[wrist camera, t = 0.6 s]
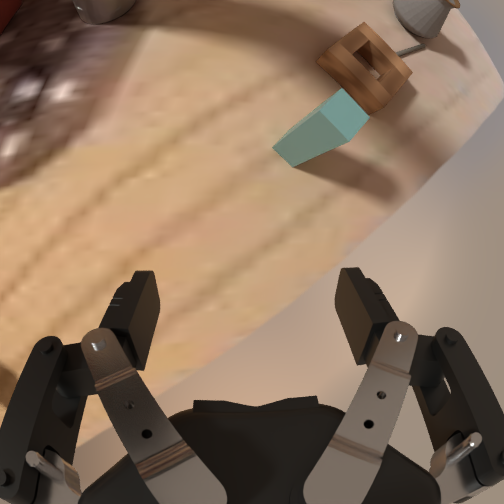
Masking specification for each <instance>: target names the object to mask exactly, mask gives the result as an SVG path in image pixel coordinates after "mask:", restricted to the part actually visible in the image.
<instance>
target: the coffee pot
mask: <svg viewBox="0 0 504 504" xmlns="http://www.w3.org/2000/svg"><path fill="white" fill-rule="evenodd" d="M393 7H394V11H395V15H396V17H397V19H398V20H399V22H400V23H401V24H402V25H403V26H404V27H405V28H406V29H407V30H408V31H410V32H411V33H413V34H415V35H418V36H421V37H424V38H435V37H437V35H438V34H439V32H440V30H441V28H442V26H443V24H444V22H445V20H446V18H447V15H448V13H449V11H450V9H452V8H460V3H459V1H458V0H393Z"/></svg>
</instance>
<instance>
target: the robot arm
mask: <svg viewBox="0 0 504 504" xmlns="http://www.w3.org/2000/svg"><path fill="white" fill-rule="evenodd" d="M72 1H73V3H74V5H75V8H76V10H77V12H78V14H79V16H80V18H81V20H83V21H84V22H86V23H89V24H100V23H105V22H108V21H111V20H114V19H116V18H118V17H120V16H121V15H123V14H124V13H126V12H127V11H128V10H129V9H130V8H131V7H132V6H133V4H134V3H135V1H136V0H72ZM335 308H336V312H337V314H338V317H339V319H340V322H341V324H342V327H343V329H344V332H345V335H346V337H347V340H348V343H349V345H350V348H351V351H352V354H353V356H354V359H355V362H356V364H357V365H363V364H366V365H367V367H368V369H367V371H366V373H365V376H364V378H363V380H362V382H361V384H360V386H359V388H358V390H357V393H356V394H355V396H354V398H353V400H352V402H351V404H350V406H349V408H348V410H347V412H346V413H345V412H343V411H342V410H339V409H337V408H335V407H331V406H328V405H324V404H319V403H318V399H317V396H308V397H297V398H287V399H283V400H280V401H276V402H273V403H269V404H266V405H262V406H258V407H254V406H247V405H243V404H238V403H233V402H228V401H210V400H194V403H193V408H192V409H188V410H184V411H181V412H179V413H176V414H174V415H172V416H171V417H169V418H167V417H166V415H165V414H164V412H163V411H162V410H161V408H160V407H159V405H158V404H157V402H156V401H155V399H154V398H153V396H152V395H151V393H150V391H149V390H148V388H147V387H146V385H145V384H144V382H143V380H142V379H141V377H140V375H139V374H138V372H137V371H136V370H141V371H144V369H145V365H146V361H147V357H148V354H149V350H150V346H151V342H152V338H153V335H154V331H155V327H156V324H157V320H158V317H159V313H160V298H159V294H158V289H157V284H156V279H155V275H154V272H153V271H135V273H134V275H133V277H132V279H131V281H130V282H124V283H123V284H122V285H121V286H120V287H119V288H118V289H117V290H116V292H115V294H114V296H113V299H112V300H111V302H110V306H108V308H107V310H106V313H105V315H104V317H103V319H102V321H101V323H100V325H99V328H97V329H93V330H91V331H90V332H88V333H87V334H86V335H85V336H84V337H83V339H82V341H81V342H80V343H75V344H69V345H63V344H62V342H61V340H60V339H59V338H58V337H55V336H48V337H45V338H42V339H41V340H39V341H38V342H37V343H36V344H35V346H34V347H33V349H32V352H31V354H30V356H29V358H28V360H27V362H26V364H25V367H24V369H23V371H22V373H21V376H20V378H19V380H18V383H17V385H16V387H15V390H14V392H13V395H12V397H11V400H10V403H9V405H8V408H7V411H6V413H5V416H4V419H3V422H2V425H1V428H0V498H2V499H3V500H6V501H7V502H9V503H11V504H451V503H462V502H464V501H466V500H468V499H470V498H472V497H474V496H476V495H478V494H480V493H481V492H483V491H485V490H487V489H488V488H490V487H492V486H493V485H495V484H497V483H498V482H500V481H501V480H503V479H504V414H503V411H502V409H501V407H500V405H499V403H498V401H497V399H496V397H495V395H494V392H493V390H492V389H491V386H490V384H489V382H488V381H487V379H486V377H485V375H484V373H483V371H482V369H481V367H480V366H479V364H478V362H477V360H476V359H475V357H474V355H473V353H472V351H471V350H470V348H469V346H468V344H467V343H466V341H465V340H464V338H463V336H462V335H461V334H460V333H459V332H458V331H456V330H455V329H452V328H449V327H443V328H440V329H439V330H438V331H437V332H436V335H435V336H425V335H418V334H417V332H416V330H415V328H413V327H412V326H411V325H410V324H408V323H406V322H402V321H399V319H398V317H397V316H396V314H395V312H394V310H393V309H392V307H391V305H390V304H389V302H388V301H387V299H386V297H385V295H384V294H383V292H382V290H381V289H380V287H379V286H378V284H376V283H375V282H374V281H373V280H371V279H370V278H365V276H364V275H363V273H362V272H361V270H360V268H358V267H355V268H342V269H341V271H340V275H339V280H338V285H337V289H336V294H335ZM444 378H446V379H447V382H448V384H449V386H450V389H451V394H450V392H449V390H448V388H447V385H446V383H445V381H444ZM409 385H410V386H412V387H413V390H414V392H415V395H416V398H417V401H418V403H419V406H420V409H421V412H422V414H423V418H424V421H425V423H426V426H427V429H428V433H429V435H430V439H431V442H432V445H433V449H434V452H435V453H434V454H433V455H432V458H431V461H430V466H431V467H430V469H429V472H428V471H427V470H425V469H423V468H422V467H421V466H419V465H418V464H416V463H415V462H413V461H412V460H410V459H409V458H407V457H406V456H404V455H403V454H401V453H400V452H399V451H397V450H396V449H395V448H393V447H392V446H390V445H389V444H388V442H389V439H390V437H391V434H392V432H393V429H394V426H395V424H396V421H397V418H398V416H399V413H400V410H401V407H402V404H403V401H404V398H405V395H406V392H407V389H408V386H409ZM94 394H98V395H99V397H100V400H101V402H102V404H103V406H104V408H105V410H106V412H107V414H108V416H109V418H110V420H111V422H112V424H113V426H114V428H115V430H116V432H117V434H118V436H119V438H120V439H121V441H122V443H123V445H124V447H125V448H126V450H127V452H128V454H127V455H125V456H124V457H123V458H122V459H121V460H120V461H119V462H117V463H116V464H115V465H114V466H113V467H112V468H110V469H109V470H108V471H107V472H106V473H104V474H103V475H102V476H101V477H100V478H99V479H97V480H96V481H95V482H94V483H93V484H91V485H90V486H89V487H88V488H87V489H85V491H84V492H83V493H82V492H81V489H80V479H79V475H78V472H77V471H76V469H75V468H74V467H73V466H72V464H73V458H74V453H75V448H76V443H77V438H78V434H79V429H80V425H81V420H82V416H83V412H84V408H85V404H86V400H87V397H88V395H94Z"/></svg>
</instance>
